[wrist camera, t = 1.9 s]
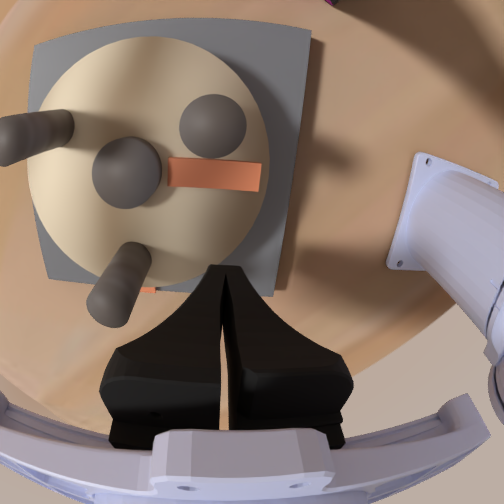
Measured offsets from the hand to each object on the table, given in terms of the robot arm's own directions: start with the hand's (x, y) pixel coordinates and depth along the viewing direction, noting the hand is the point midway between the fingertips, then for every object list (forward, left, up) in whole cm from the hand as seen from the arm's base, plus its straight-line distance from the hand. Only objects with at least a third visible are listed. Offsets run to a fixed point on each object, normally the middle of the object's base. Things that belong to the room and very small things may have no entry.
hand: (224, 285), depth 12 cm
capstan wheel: (+4, -4, -3) cm, 7 cm away
